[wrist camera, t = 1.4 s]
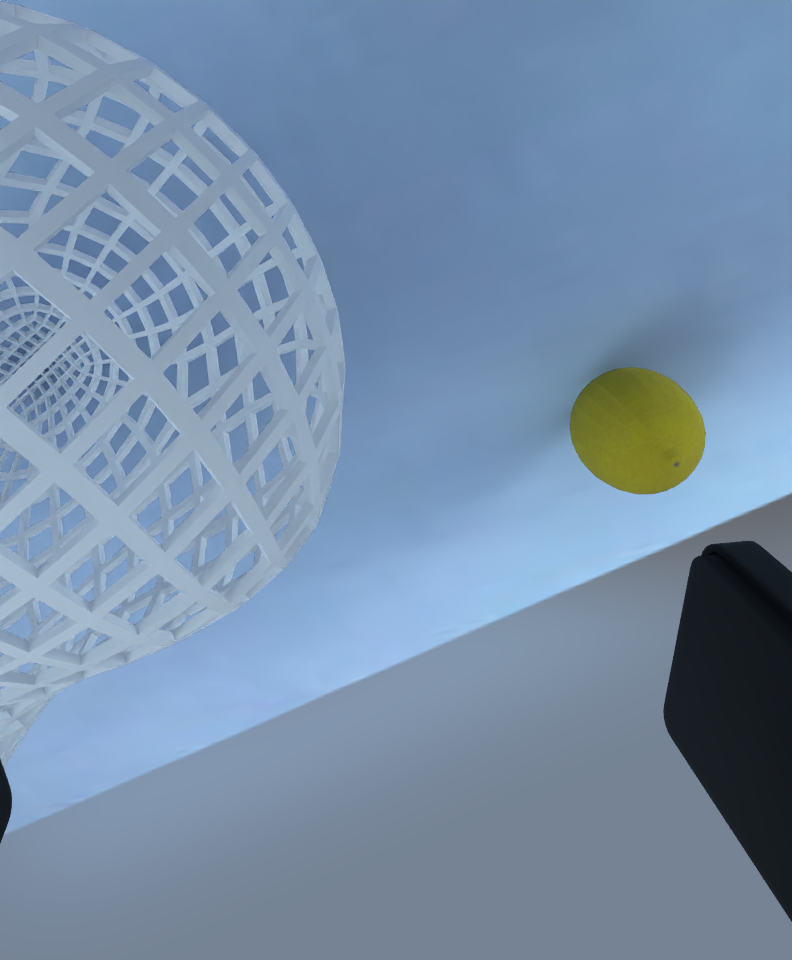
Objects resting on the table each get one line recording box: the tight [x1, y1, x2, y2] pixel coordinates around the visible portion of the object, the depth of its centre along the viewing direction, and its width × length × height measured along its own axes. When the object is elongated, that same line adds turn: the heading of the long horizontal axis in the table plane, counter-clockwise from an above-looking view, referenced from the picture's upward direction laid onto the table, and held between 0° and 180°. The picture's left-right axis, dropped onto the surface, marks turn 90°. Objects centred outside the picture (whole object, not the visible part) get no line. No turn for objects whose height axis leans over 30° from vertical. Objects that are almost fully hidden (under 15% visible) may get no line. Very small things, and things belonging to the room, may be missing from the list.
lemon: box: [570, 367, 706, 494], centre depth 34 cm, size 6×6×8 cm
